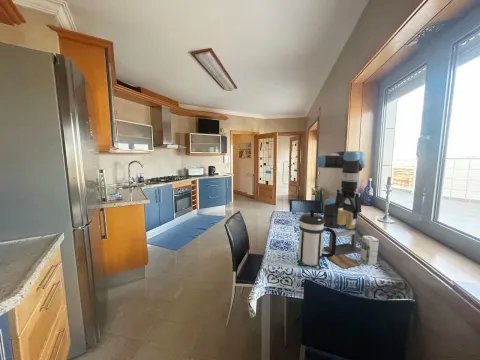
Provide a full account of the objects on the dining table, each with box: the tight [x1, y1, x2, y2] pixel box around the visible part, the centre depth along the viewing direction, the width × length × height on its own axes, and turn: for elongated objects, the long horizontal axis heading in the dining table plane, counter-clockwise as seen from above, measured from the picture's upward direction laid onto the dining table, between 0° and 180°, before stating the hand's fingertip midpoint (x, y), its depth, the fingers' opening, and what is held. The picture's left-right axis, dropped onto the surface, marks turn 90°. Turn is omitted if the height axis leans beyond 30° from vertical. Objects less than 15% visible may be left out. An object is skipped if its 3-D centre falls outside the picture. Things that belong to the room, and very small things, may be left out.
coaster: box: [326, 254, 361, 270], centre depth 114 cm, size 12×12×1 cm
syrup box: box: [359, 235, 380, 266], centre depth 113 cm, size 6×6×14 cm
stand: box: [323, 229, 361, 256], centre depth 128 cm, size 20×10×12 cm, turn 109°
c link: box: [337, 210, 356, 230], centre depth 111 cm, size 4×8×8 cm, turn 19°
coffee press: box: [296, 209, 337, 270], centre depth 110 cm, size 17×16×30 cm
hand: (346, 221), depth 112 cm, fingers closed on c link, 8 cm apart
